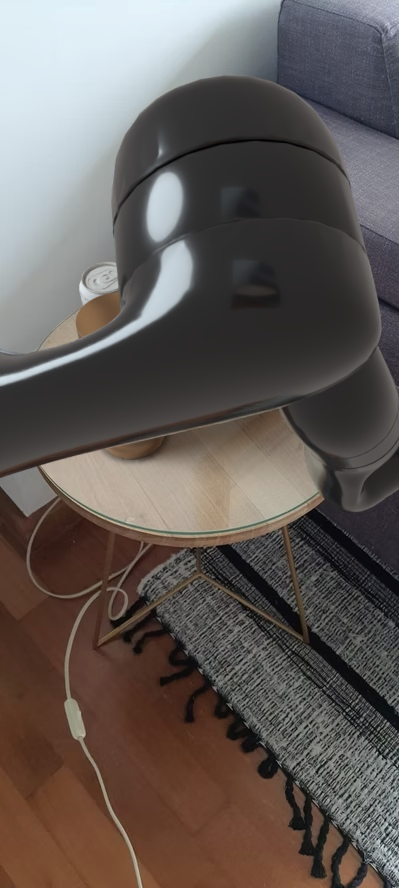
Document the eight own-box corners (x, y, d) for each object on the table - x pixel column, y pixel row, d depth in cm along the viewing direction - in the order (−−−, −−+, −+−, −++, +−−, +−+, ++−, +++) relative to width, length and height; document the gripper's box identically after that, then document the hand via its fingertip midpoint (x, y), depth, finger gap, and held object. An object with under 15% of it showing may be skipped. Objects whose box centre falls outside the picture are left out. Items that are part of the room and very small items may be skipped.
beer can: (87, 370, 88) (66, 276, 76) (124, 347, 90) (110, 252, 78) (116, 397, 85) (99, 303, 73) (154, 372, 87) (144, 277, 75)
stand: (112, 467, 78) (89, 355, 64) (91, 420, 83) (65, 305, 68) (174, 446, 80) (165, 331, 66) (151, 401, 84) (137, 284, 70)
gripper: (350, 267, 62) (268, 176, 71) (205, 312, 59) (139, 210, 68) (338, 329, 68) (264, 237, 77) (206, 372, 65) (145, 272, 74)
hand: (205, 225), depth 72 cm, fingers open, 8 cm apart
